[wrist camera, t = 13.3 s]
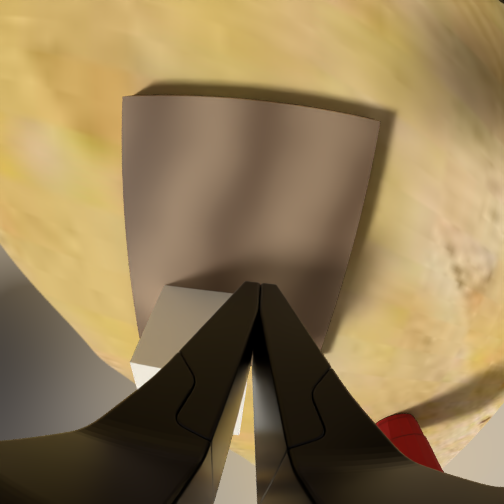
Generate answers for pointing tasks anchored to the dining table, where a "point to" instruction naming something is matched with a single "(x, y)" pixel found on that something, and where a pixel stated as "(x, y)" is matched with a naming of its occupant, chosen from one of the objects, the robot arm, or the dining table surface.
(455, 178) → the dining table surface
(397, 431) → the plastic cup
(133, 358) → the off-white cube
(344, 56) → the dining table surface
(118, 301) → the dining table surface
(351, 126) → the board
